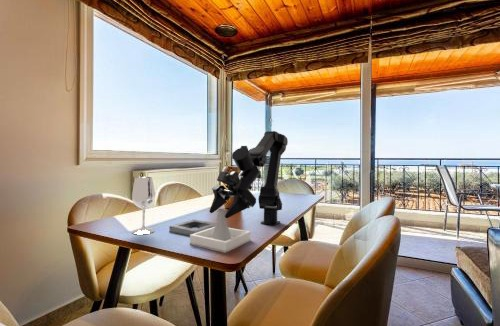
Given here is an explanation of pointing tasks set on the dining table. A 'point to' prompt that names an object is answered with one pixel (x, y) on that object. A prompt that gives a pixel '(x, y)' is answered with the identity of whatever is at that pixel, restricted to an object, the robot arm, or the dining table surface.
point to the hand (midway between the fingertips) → (217, 214)
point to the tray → (207, 242)
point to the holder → (185, 226)
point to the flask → (221, 227)
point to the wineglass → (143, 199)
